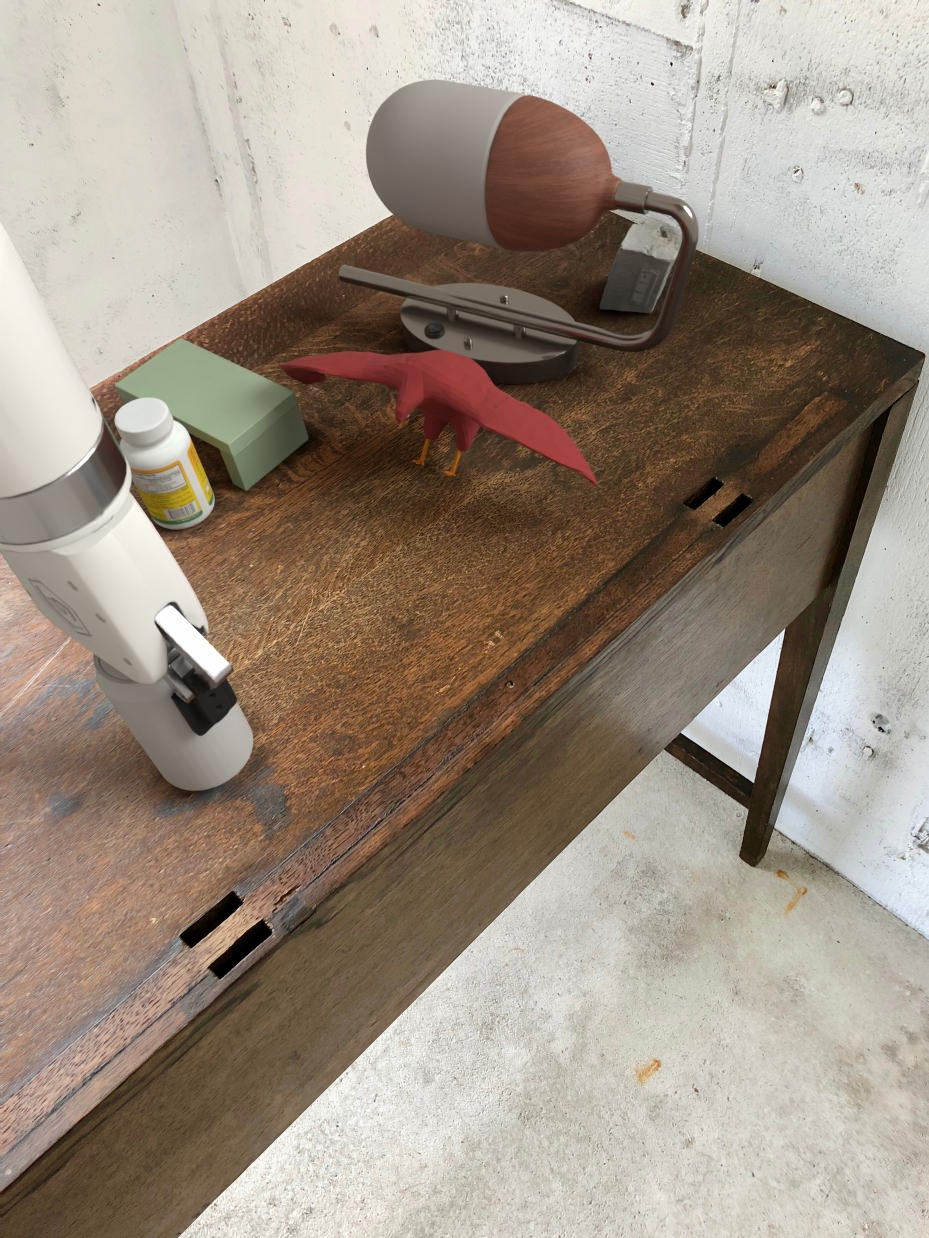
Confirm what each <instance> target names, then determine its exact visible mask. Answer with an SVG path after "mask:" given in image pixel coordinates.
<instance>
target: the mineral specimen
mask: <svg viewBox="0 0 929 1238" xmlns="http://www.w3.org/2000/svg"><path fill="white" fill-rule="evenodd" d="M681 242H682V231H681V230H680V231H679V229H678V228H677V227H676V226H673V225H671V224H670V223H668V222H666V221H664V220H662V219H659V218H657V217H655V216H652V215H651V216H648V217H647V218H644V220H641V221H640V222H639V223H633V224H632V225H631V226H630V227H629V228H628V231H627V232H626V234H625V237H624V238H623V240H622V242H621V243H620V245H619V247H618V251H617V252H616V253H615V257H614V260H613V263H612V264H611V267H610V269H609V273H608V275H607V280H606V282H605V286H604V290H603V294H602V296H601V300H600V304H599V309H600V310H612V311H620V312H632V313H641V314H642V313H644V314H652V313H653V311H654V309H655V307H656V304H657V302H658V300H659V298H660V297H661V295H662V293H663V290H664V287H665V286H666V283H667V279H668V277H669V276H670V274H671V271H672V268H673V267H674V265H675V262H676V259H677V255H678V252H679V249H680V245H681Z"/></svg>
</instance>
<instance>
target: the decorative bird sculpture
mask: <svg viewBox="0 0 929 1238" xmlns="http://www.w3.org/2000/svg"><path fill="white" fill-rule="evenodd" d="M278 367H279V368H280V369H281V370H282V371H284V373H285V374H286V376H289V377H290V378H291V379H293V380H295V381H297V382H299V383H301V384H303V385H306V386H307V385H313V384H316V383H323V382H327V381H329V378H328V377H334V378H340V379H344V380H349V381H364V382H368V383H372V384H373V383H374V384H381V385H385V386H387V387H390V388H392V389H394V390H395V391H397V392H398V393H397V399H396V404H395V407H394V417H395V421H396V422H397V424H398V426H399V427H402V425H403V424H404V422H405V421H406V419H407V417H409V415H410V414H411V413H412V412H413V411H414V410H416V409H417V410H419V411H421V412H423V423H422V433H423V436H424V438H425V441H424V444H423V448H422V451H421V455H420V457H419V459H412V460H411V461H410V463H412V462H413V463H414V465H422V467H423V468H424V469H426V463H425V459H426V457H427V453H428V449H429V446H430V443H431V442H435V441H437V440H438V439H439V438H440V436H441V435H442V432H443V431H444V430H445V427H446V426H447V425H449V424H450V425H451V427H452V428H453V429H454V432H455V433H456V438H455V446H456V452H455V455H454V460H453V461H452V465H451V468H450V471H446V470H443V471H442V472H441V473H440V474H445V476H446V477H448V476H452V477H453V478H454V479H455V480H457V475H456V470H457V468H458V465H459V464H458V463H459V460H460V458H461V455H462V453H464V452H466V451H468V450H469V449H470V448H471V446H472V445H473V442H474V439H475V437H476V435H477V433H478V431H479V429H480V428H482V429H484V430H485V431H489V432H492V433H495V434H497V435H500V436H502V437H504V438H506V439H509V440H511V441H513V442H514V443H517V444H518V445H520V446H521V447H523V448H525V449H527V450H529V451H531V452H535V453H536V454H539V455H541V456H543V457H544V458H546V459H548V460H549V461H552V462H554V463H556V464H558V465H560V466H561V467H565V468H567V469H569V470H571V471H573V472H574V473H575V472H576V473H577V474H579V475H581V476H582V477H583V478H585V479H586V481H588V482H589V483H591V484H592V485H594V486H595V487H598V486H599V484H598V481H597V478H596V476H595V475H594V472H593V471H592V469H591V467H590V465H589V463H588V461H587V460H586V459H585V457H584V456H583V454H582V453H581V451H580V450H579V448H578V447H577V446H576V443H575V442H574V440H573V439H572V438H571V437H570V436H569V434H568V432H567V431H566V430H565V429H564V428H563V427H562V426H561V425H560V423H558V422H556V421H555V419H553V418H552V417H551V416H550V415H548V414H546V413H545V412H543V411H541V410H539V409H538V408H534V407H532V406H531V405H530V404H529V403H527V402H525V401H521V400H519V399H516V398H514V397H512V395H510V394H509V393H507V392H505V391H503V390H501V389H499V388H498V386H496V385H495V383H493V382H492V381H491V379H490V378H489V376H488V375H487V373H486V372H485V370H484V369H483V368H482V367H481V366H479V365H478V364H477V363H476V362H475V361H474V360H472V359H471V358H470V357H468V356H462V355H460V354H457V353H455V352H451V351H446V350H433V351H427V352H421V353H414V352H405V353H397V354H396V353H392V354H382V353H375V352H371V351H363V352H362V351H351V350H344V351H336V352H329V353H328V352H327V353H321V354H318V355H307V356H306V355H305V356H302V357H298V358H294V359H292V360H289V361H287V362H285V363H281V364H279V365H278Z"/></svg>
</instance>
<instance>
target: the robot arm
mask: <svg viewBox="0 0 929 1238" xmlns="http://www.w3.org/2000/svg"><path fill="white" fill-rule="evenodd" d="M132 481H133V480H132V474H131V468H130V465H129V463H128V461H127V459H126V458H125V456H124V454H123V452H122V450H121V448H120V443H118V440H117V439H116V436H115V435H114V433H113V431H112V429H111V427H110V426H109V424H108V422H107V419H106V417H105V416H104V414H103V412H102V410H101V409H100V406H99V404H98V402H97V401H96V399H95V397H94V395H93V393H92V390H91V389H90V387H89V385H88V383H87V382H86V380H85V378H84V376H83V374H82V373H81V370H80V369H79V367H78V365H77V363H76V361H75V359H74V357H73V355H72V354H71V352H70V350H69V347H68V346H67V344H66V342H65V340H64V338H63V336H62V334H61V333H60V331H59V328H58V327H57V325H56V323H55V321H54V319H53V318H52V316H51V314H50V312H49V310H48V308H47V306H46V304H45V302H44V301H43V298H42V296H41V295H40V293H39V290H38V289H37V287H36V285H35V282H34V281H33V279H32V278H31V275H30V274H29V272H28V269H27V267H26V266H25V264H24V262H23V260H22V258H21V256H20V254H19V253H18V250H17V249H16V247H15V244H14V243H13V240H12V239H11V237H10V236H9V234H8V232H7V230H6V229H5V227H4V225H3V223H2V221H0V555H1V556H2V558H3V559H4V561H5V562H6V564H7V565H8V566H9V568H10V570H11V571H12V572H13V575H15V577H16V579H17V580H18V582H19V583H20V584H21V586H22V587H23V589H24V590H25V592H26V594H27V595H28V596H29V597H30V600H31V601H32V602H33V604H34V605H35V606H36V608H37V609H38V611H39V612H40V613H41V614H42V616H44V617H45V618H46V619H47V621H48V622H50V623H51V624H52V625H54V626H55V627H56V628H58V629H59V630H60V631H61V632H63V633H64V634H66V635H67V636H68V637H70V638H71V639H73V640H74V641H75V642H76V643H78V644H80V645H81V646H82V647H83V648H85V649H86V650H88V651H89V652H90V653H92V654H95V655H97V656H98V657H99V658H101V659H102V660H104V661H105V662H107V663H108V664H110V665H111V666H112V667H114V668H115V669H117V670H118V671H120V672H121V673H123V674H124V675H126V676H127V677H129V678H130V679H132V680H134V681H136V682H138V683H142V684H155V683H156V682H157V681H158V680H159V679H160V678H163V679H164V680H165V682H166V683H167V684H168V685H169V686H170V687H171V689H172V690H173V691H174V693H173V694H172V696H171V699H172V700H173V702H174V703H175V705H176V706H177V708H178V709H179V711H180V713H181V714H182V716H183V717H184V719H185V720H186V722H187V723H188V725H189V726H190V728H191V729H192V731H193V732H194V733H196V734H197V735H199V736H203V735H204V734H206V733H207V732H208V731H209V730H210V729H211V728H212V727H213V726H214V725H215V724H216V723H218V722H220V721H221V720H222V719H223V718H224V717H225V716H226V715H227V714H228V713H229V711H230V709H231V708H232V707H233V706H234V705H235V704H236V703H237V702H238V697H237V696H238V695H237V694H236V693H235V691H234V689H233V688H232V686H231V683H230V682H229V680H228V678H229V677H230V676H231V674H233V673H234V671H235V669H234V667H233V666H232V664H231V663H229V661H228V660H226V658H225V657H224V656H223V655H222V654H221V653H220V652H219V651H218V650H217V649H216V648H215V647H214V646H213V645H212V644H211V643H210V642H209V641H208V640H207V639H206V638H205V637H207V636H208V635H209V630H210V629H209V622H208V621H209V620H208V617H207V615H206V613H205V610H204V608H203V606H202V603H201V602H200V600H199V598H198V596H197V594H196V592H195V590H194V588H193V587H192V586H191V584H190V581H189V580H188V578H187V577H186V575H185V573H184V572H183V570H182V568H181V566H180V564H179V563H178V562H177V560H176V558H175V557H174V555H173V554H172V552H171V550H170V549H169V547H168V546H167V544H166V542H165V540H164V539H163V538H162V537H161V535H160V533H159V532H158V530H157V529H156V527H155V526H154V524H153V522H152V521H151V520H150V518H149V517H148V515H147V514H146V513H145V511H144V510H143V508H142V507H141V505H140V504H139V502H138V501H137V500H136V498H135V496H134V495H133V494H132V493H131V492H130V490H131V487H132ZM163 637H164V638H165V639H166V640H167V641H168V642H167V643H166V641H165V639H164V638H163ZM180 655H182V656H183V657H184V658H185V659H186V660H187V661H188V662H189V663H190V664H191V665H192V667H193V668H192V669H191V670H190V671H189V672H188V673H186V674H185V675H184V676H183V677H182V678H181V677H180V676H179V675H178V674H177V672H176V671H175V670H174V669H173V668H172V666H171V665H170V664H171V663H172V662H173V661H175V660H176V659H177V658H178V657H179V656H180Z"/></svg>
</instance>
